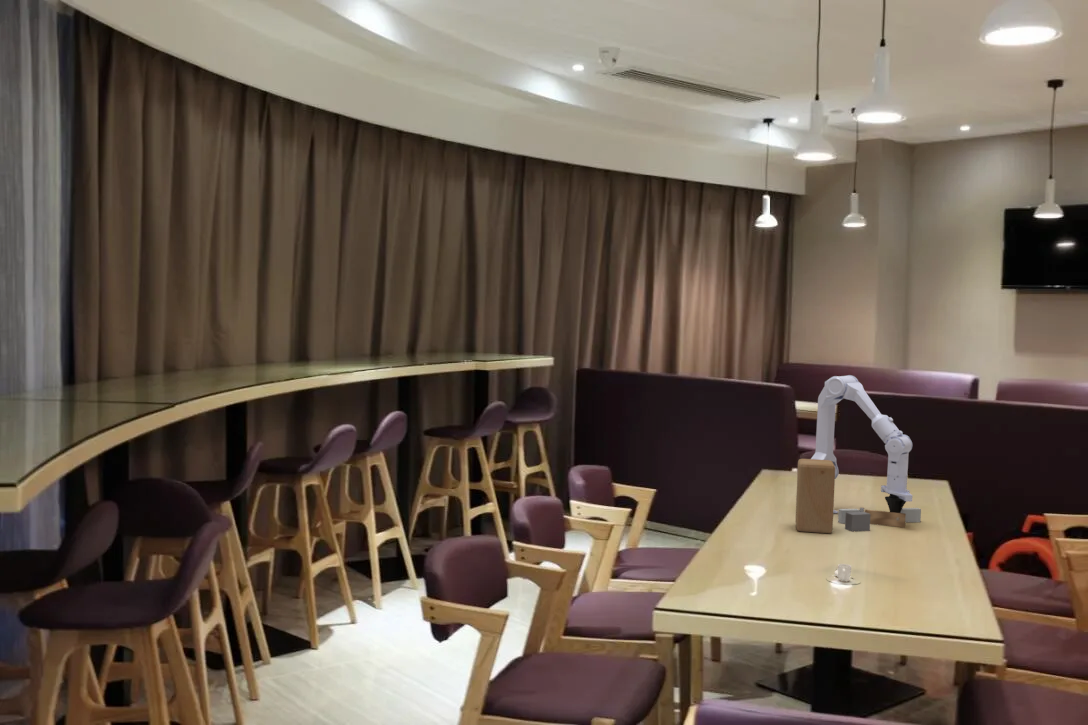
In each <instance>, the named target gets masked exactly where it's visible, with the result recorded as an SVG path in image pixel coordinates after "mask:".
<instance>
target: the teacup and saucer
mask: <svg viewBox="0 0 1088 725" xmlns="http://www.w3.org/2000/svg"><path fill="white" fill-rule="evenodd" d="M851 573H852V565H851V564H847V563H839V564H837V569H836V570H834V573H833V574H834V576H837V577H836V578H837V579H838V580H841V581H840V582H842V581H848V582H849V581H850V580H851V579H850V577H851Z"/></svg>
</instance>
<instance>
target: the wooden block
mask: <svg viewBox="0 0 1088 725" xmlns="http://www.w3.org/2000/svg"><path fill="white" fill-rule="evenodd" d="M796 474H797V476H796V496H795V497H796V499H795V500H796V501H795V521H794V522H795V527H796V530H797V531H798V532H801V533H813V534H814V533H817V534H818V533H819V534H832V532H833V529H834V528H833V526H834V513H833V509H834V508H835V507H834V505H835V503H834V501H835V485H836V484H835V482H836V479H835V466H834V464H833V462H832V461H830V460H817V459H811V458H800V459H798V461H797V473H796Z"/></svg>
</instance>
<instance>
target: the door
mask: <svg viewBox="0 0 1088 725" xmlns="http://www.w3.org/2000/svg"><path fill="white" fill-rule="evenodd" d="M864 512H866V513H869V514H870V525H877V524H878V525H879V526H888V527H897V528H906V522H905V518H906V514H905V513H895V512H890V511H884V510H883V511H882V510H874V509H865V508H864ZM878 525H877V526H878Z"/></svg>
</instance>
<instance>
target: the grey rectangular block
mask: <svg viewBox="0 0 1088 725" xmlns="http://www.w3.org/2000/svg"><path fill="white" fill-rule="evenodd" d="M844 529H845V530H847V531H849V532H854V531H855V532H869V531H871V524H870V514H869V513H866V512H865V511H864V512H846V516H845V524H844Z"/></svg>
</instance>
